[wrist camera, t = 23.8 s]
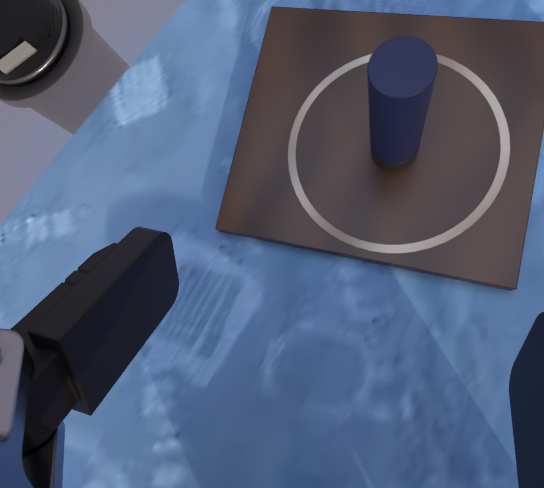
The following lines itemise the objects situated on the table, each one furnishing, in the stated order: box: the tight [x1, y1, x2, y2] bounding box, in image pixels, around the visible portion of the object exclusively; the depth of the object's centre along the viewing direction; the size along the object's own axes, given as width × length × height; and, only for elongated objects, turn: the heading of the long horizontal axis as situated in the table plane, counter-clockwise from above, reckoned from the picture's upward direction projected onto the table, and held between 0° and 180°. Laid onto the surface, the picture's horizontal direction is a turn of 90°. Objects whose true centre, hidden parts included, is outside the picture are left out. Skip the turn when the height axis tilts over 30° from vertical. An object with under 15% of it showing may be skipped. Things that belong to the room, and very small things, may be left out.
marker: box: [367, 36, 438, 170], centre depth 22 cm, size 3×3×9 cm
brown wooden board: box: [216, 7, 544, 290], centre depth 28 cm, size 18×16×1 cm
